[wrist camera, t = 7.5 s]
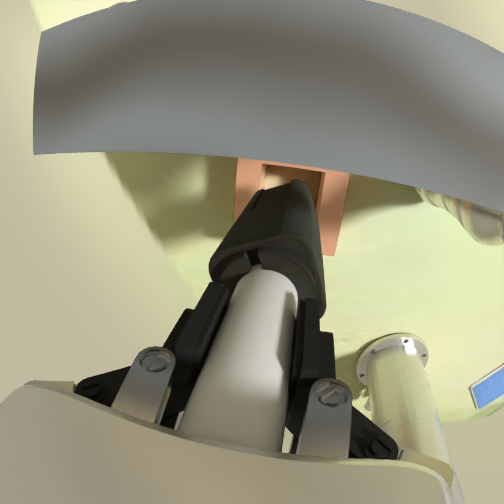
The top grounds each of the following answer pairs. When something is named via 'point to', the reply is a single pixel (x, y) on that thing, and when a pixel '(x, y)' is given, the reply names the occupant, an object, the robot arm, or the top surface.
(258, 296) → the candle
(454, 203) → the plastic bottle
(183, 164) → the top surface
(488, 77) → the brown board grey top
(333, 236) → the socket block
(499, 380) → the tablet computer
